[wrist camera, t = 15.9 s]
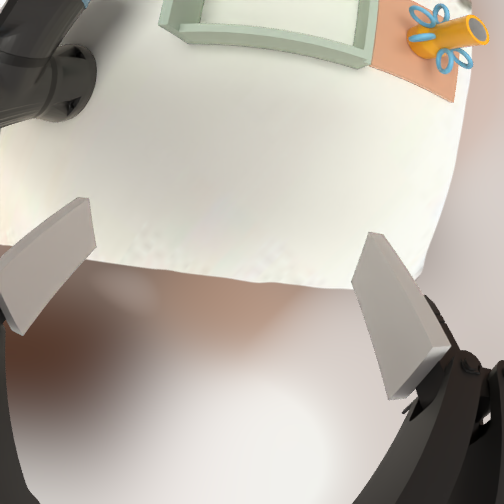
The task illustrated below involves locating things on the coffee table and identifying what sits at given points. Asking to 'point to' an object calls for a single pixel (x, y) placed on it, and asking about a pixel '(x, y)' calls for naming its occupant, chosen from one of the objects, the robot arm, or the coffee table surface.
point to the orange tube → (445, 36)
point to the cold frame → (272, 34)
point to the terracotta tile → (409, 50)
